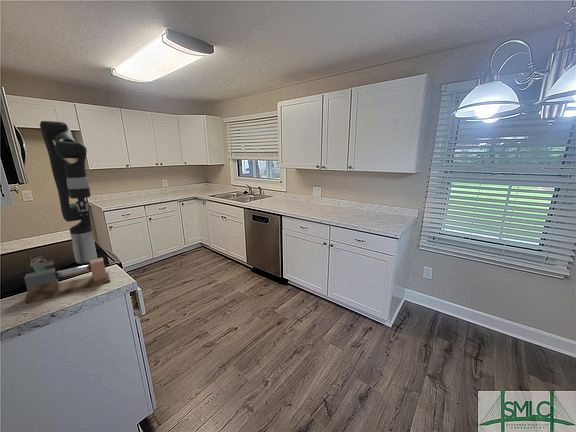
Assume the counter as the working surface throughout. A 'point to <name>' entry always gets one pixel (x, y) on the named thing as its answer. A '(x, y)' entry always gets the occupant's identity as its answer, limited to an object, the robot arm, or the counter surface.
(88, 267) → the tube
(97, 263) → the socket
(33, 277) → the sleeve
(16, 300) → the counter surface
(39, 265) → the food container
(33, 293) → the dock
